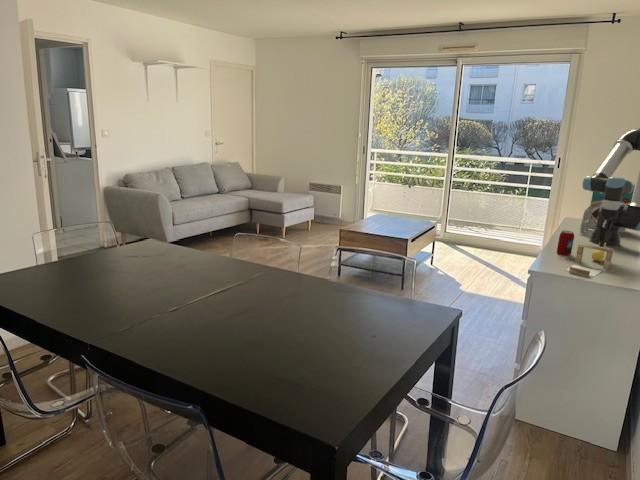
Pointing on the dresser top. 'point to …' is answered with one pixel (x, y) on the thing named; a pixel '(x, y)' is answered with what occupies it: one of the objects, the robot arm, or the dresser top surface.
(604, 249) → the bridge
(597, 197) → the cake mix box
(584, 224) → the ornament
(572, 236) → the beverage can
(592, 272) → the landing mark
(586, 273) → the wall
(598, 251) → the ball
